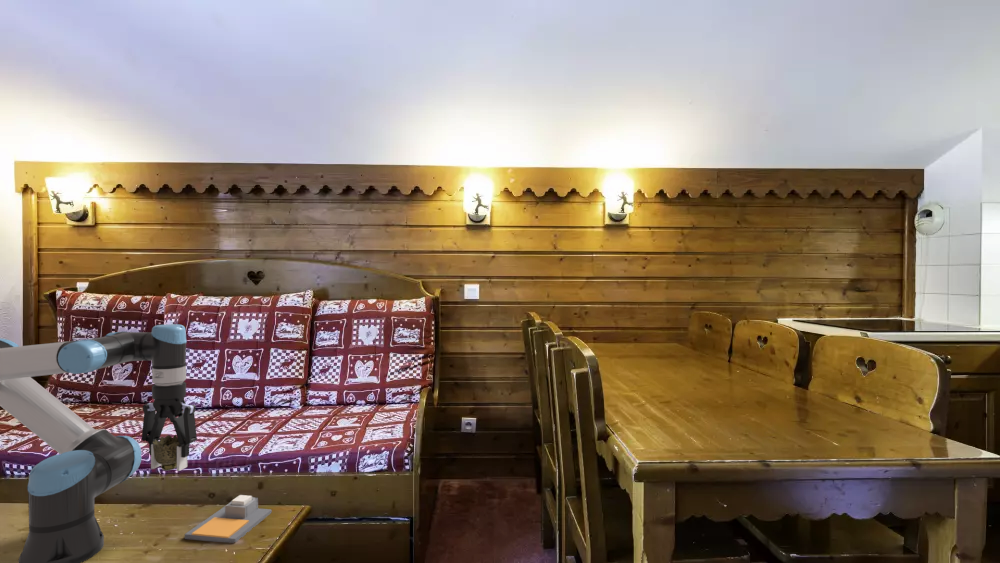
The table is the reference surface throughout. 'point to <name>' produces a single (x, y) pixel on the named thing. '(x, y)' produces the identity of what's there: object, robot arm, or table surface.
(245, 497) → the button
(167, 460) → the cup
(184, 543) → the table surface
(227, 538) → the plate
